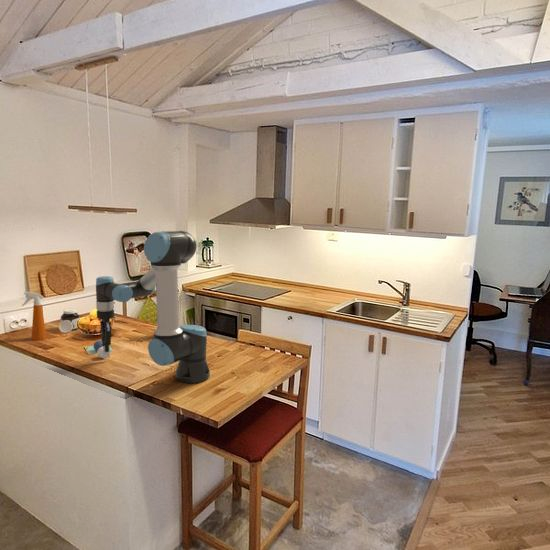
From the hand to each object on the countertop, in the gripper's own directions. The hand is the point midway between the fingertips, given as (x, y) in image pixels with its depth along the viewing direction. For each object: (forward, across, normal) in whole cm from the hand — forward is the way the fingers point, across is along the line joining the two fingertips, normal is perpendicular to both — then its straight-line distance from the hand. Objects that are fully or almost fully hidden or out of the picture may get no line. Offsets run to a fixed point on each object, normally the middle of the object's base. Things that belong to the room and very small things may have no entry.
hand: (106, 357), depth 195 cm
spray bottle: (+2, +50, +26) cm, 56 cm away
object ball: (-1, +16, 0) cm, 16 cm away
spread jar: (+2, +59, +8) cm, 60 cm away
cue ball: (-1, +6, 0) cm, 6 cm away
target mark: (+2, +19, 0) cm, 19 cm away
